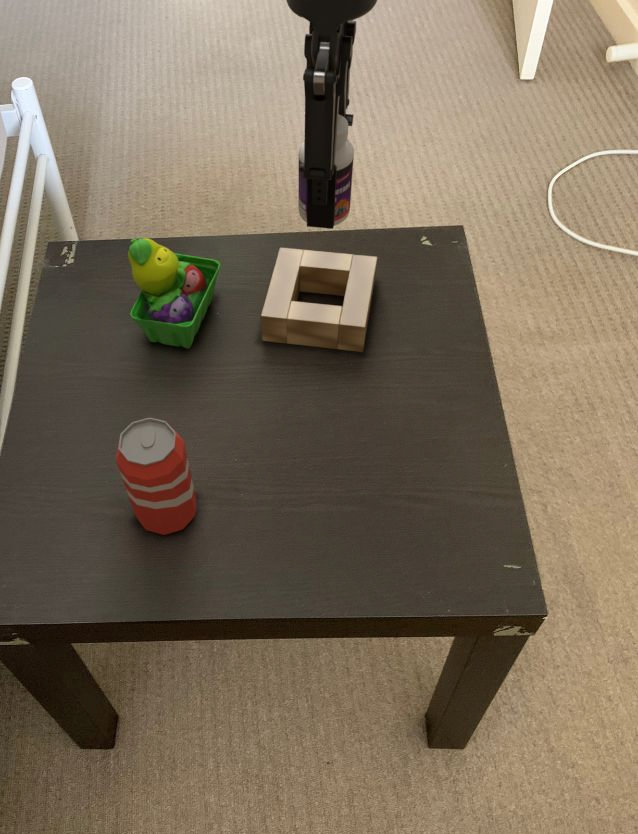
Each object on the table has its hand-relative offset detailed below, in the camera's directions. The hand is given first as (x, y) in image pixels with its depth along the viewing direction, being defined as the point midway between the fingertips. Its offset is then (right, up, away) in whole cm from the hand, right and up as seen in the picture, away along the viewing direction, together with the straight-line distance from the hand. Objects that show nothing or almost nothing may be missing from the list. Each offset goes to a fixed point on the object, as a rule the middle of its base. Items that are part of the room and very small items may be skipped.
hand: (324, 205), depth 78 cm
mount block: (0, -8, +14) cm, 15 cm away
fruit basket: (-17, -9, +14) cm, 24 cm away
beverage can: (-16, -32, -1) cm, 36 cm away
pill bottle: (0, -1, +1) cm, 1 cm away
